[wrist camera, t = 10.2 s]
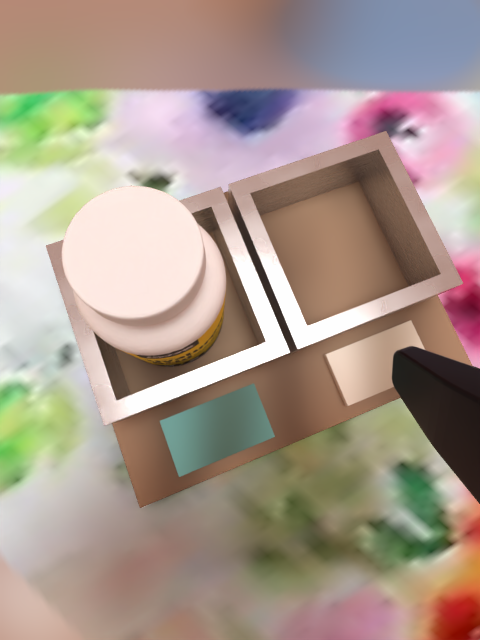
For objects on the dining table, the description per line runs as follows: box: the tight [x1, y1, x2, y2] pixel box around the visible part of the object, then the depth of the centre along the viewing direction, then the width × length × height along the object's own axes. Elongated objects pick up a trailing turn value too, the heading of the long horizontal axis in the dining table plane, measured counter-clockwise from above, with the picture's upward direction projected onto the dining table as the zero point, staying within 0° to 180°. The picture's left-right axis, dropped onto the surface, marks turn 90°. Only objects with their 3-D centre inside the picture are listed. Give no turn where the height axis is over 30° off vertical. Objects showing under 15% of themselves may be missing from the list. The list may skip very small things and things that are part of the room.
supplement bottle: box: [62, 186, 226, 367], centre depth 16 cm, size 5×5×10 cm
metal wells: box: [46, 131, 463, 426], centre depth 19 cm, size 18×9×3 cm, turn 112°
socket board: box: [112, 182, 472, 508], centre depth 21 cm, size 19×14×2 cm
